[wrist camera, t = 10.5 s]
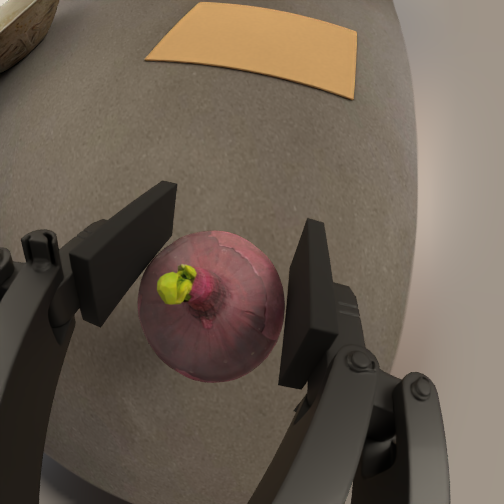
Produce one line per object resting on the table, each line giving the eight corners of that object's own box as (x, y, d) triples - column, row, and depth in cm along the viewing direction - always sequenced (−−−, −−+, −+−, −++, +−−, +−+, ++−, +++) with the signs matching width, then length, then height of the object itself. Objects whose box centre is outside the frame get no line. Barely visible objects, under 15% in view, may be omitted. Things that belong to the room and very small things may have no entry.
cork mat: (356, 33, 24) (356, 31, 24) (352, 100, 21) (353, 99, 21) (199, 3, 24) (199, 2, 24) (145, 60, 21) (144, 59, 21)
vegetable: (224, 232, 16) (211, 115, 6) (296, 314, 15) (390, 303, 6) (143, 300, 15) (27, 269, 5) (214, 385, 14) (182, 479, 4)
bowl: (-28, 130, 19) (-65, 93, 10) (-32, 83, 22) (-53, 55, 13) (101, 18, 24) (84, -32, 14) (59, 5, 27) (46, -27, 17)
